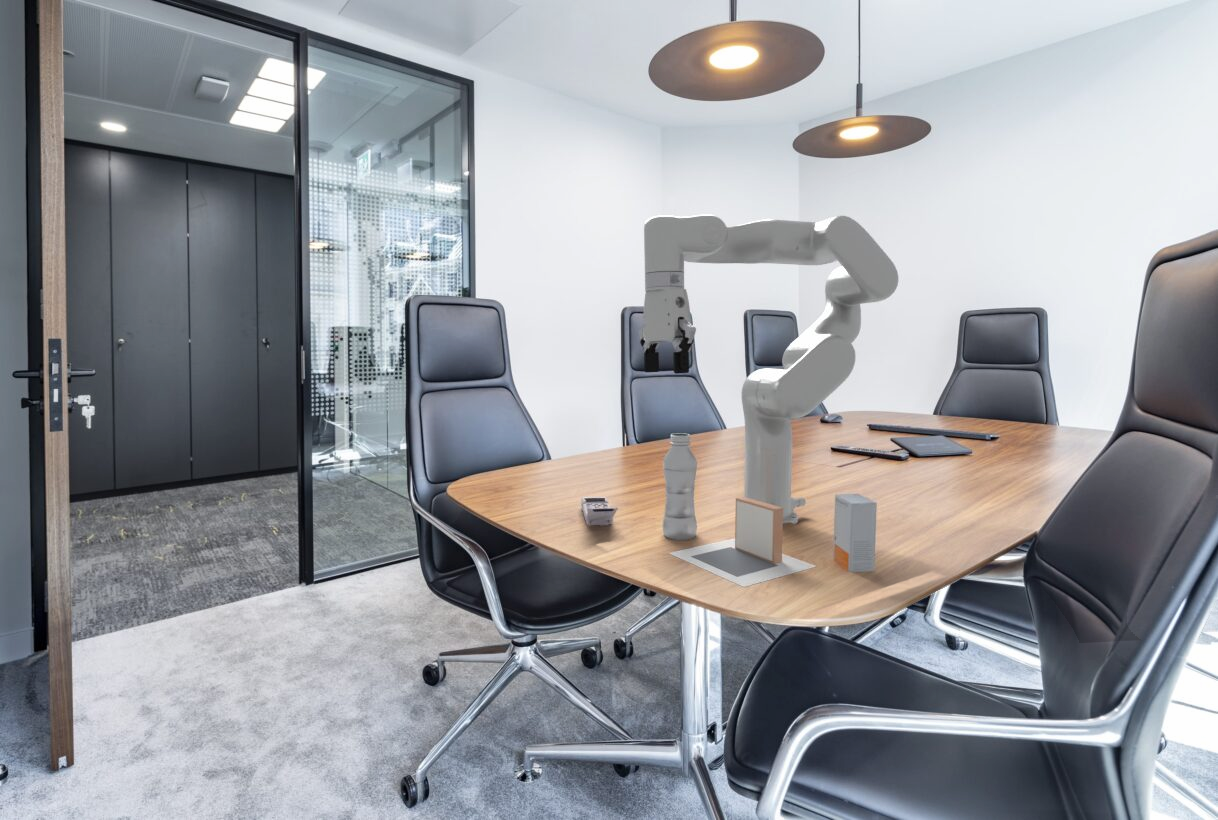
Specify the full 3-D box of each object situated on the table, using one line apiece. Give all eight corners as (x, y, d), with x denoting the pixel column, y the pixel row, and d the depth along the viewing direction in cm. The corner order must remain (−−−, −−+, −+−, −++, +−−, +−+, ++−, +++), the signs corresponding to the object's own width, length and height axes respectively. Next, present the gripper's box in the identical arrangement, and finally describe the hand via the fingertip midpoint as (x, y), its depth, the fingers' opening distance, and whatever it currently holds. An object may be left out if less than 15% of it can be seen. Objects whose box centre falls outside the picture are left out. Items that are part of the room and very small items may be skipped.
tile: (742, 546, 108) (743, 496, 107) (781, 561, 100) (783, 507, 100) (734, 548, 107) (735, 498, 106) (773, 563, 99) (774, 509, 99)
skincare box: (831, 564, 102) (833, 493, 101) (856, 564, 102) (859, 493, 101) (849, 578, 96) (851, 502, 95) (875, 577, 96) (878, 502, 95)
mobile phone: (587, 508, 117) (579, 480, 142) (587, 538, 117) (579, 505, 142) (619, 507, 118) (605, 480, 142) (618, 538, 118) (605, 505, 143)
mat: (737, 542, 114) (737, 537, 113) (816, 572, 98) (817, 565, 98) (668, 558, 105) (668, 552, 105) (743, 593, 90) (743, 586, 90)
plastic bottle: (700, 536, 117) (701, 432, 115) (693, 547, 111) (693, 437, 109) (667, 533, 119) (667, 431, 118) (658, 544, 113) (658, 436, 111)
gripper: (709, 279, 113) (709, 372, 114) (654, 288, 127) (656, 371, 129) (676, 278, 109) (677, 374, 111) (624, 287, 124) (626, 372, 125)
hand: (666, 372), depth 120 cm, fingers open, 9 cm apart
